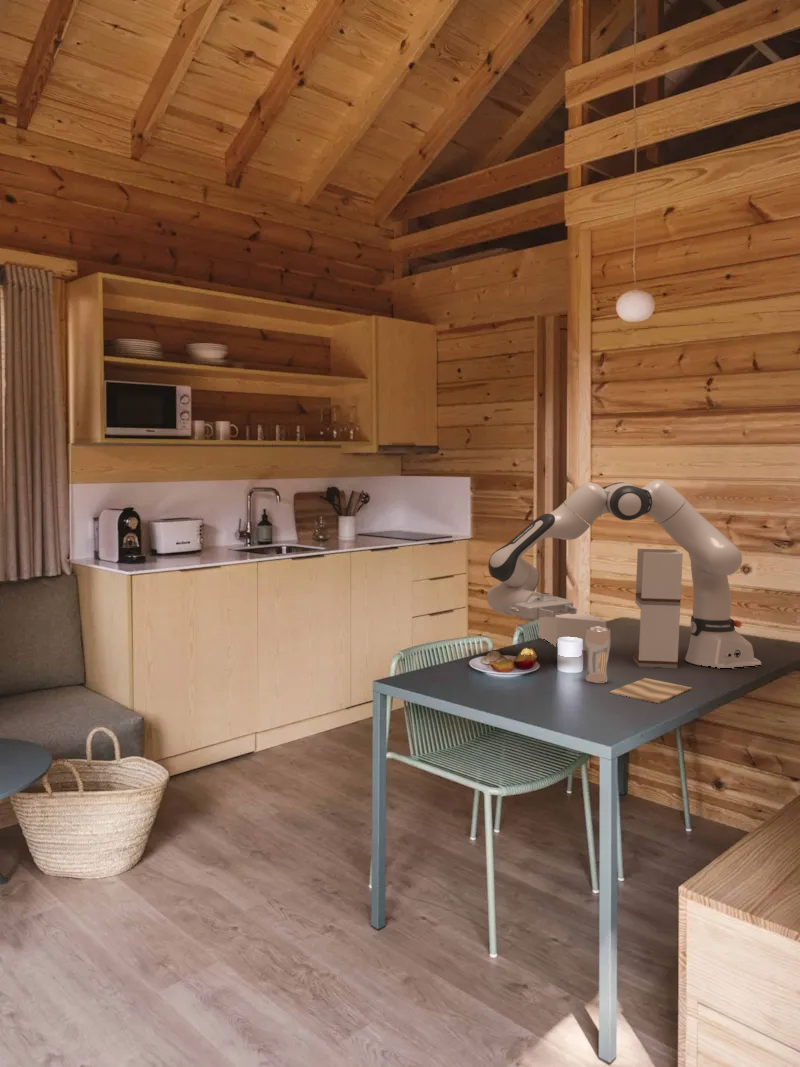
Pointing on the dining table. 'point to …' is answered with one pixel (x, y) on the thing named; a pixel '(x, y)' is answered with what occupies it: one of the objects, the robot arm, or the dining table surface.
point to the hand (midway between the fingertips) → (564, 612)
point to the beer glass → (597, 653)
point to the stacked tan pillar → (658, 606)
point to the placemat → (651, 690)
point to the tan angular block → (567, 626)
